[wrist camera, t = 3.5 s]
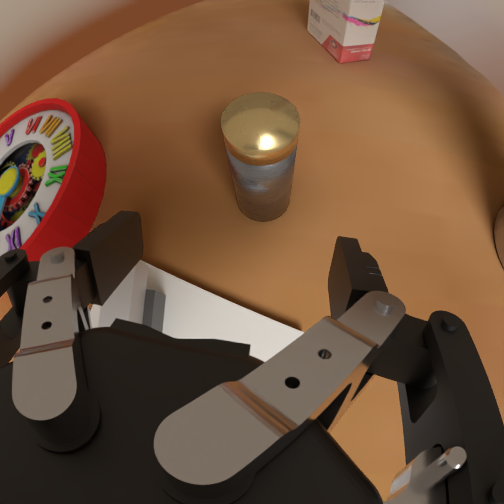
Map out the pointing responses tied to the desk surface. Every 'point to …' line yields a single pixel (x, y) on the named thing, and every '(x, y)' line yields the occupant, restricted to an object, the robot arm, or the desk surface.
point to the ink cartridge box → (345, 27)
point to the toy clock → (48, 178)
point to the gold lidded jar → (261, 152)
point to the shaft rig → (189, 312)
